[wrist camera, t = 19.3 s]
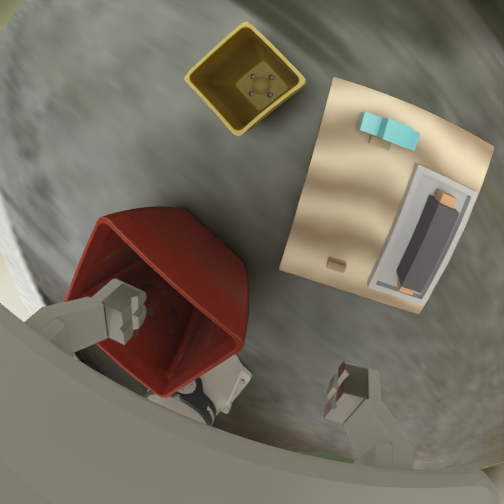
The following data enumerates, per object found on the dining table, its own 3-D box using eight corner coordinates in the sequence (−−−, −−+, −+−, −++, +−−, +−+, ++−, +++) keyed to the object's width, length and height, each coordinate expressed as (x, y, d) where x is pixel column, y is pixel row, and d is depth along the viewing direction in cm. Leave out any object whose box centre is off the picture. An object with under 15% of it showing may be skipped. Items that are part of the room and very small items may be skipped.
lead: (411, 284, 37) (416, 300, 33) (392, 277, 37) (396, 294, 34) (451, 194, 30) (463, 203, 27) (432, 185, 31) (442, 193, 27)
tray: (421, 299, 38) (423, 305, 36) (367, 281, 39) (367, 287, 38) (473, 189, 30) (478, 193, 28) (415, 162, 31) (418, 164, 29)
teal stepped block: (404, 146, 30) (424, 156, 23) (356, 128, 31) (363, 132, 23) (408, 130, 29) (430, 135, 22) (360, 112, 30) (369, 111, 22)
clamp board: (417, 309, 40) (420, 320, 38) (280, 265, 43) (276, 274, 40) (490, 145, 27) (499, 148, 25) (333, 78, 30) (333, 75, 28)
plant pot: (178, 173, 41) (98, 212, 26) (279, 265, 43) (247, 347, 28) (124, 256, 50) (60, 309, 35) (205, 328, 52) (163, 400, 37)
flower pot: (266, 38, 30) (246, 18, 22) (314, 89, 31) (307, 81, 24) (214, 83, 34) (181, 77, 26) (258, 132, 35) (236, 139, 28)
